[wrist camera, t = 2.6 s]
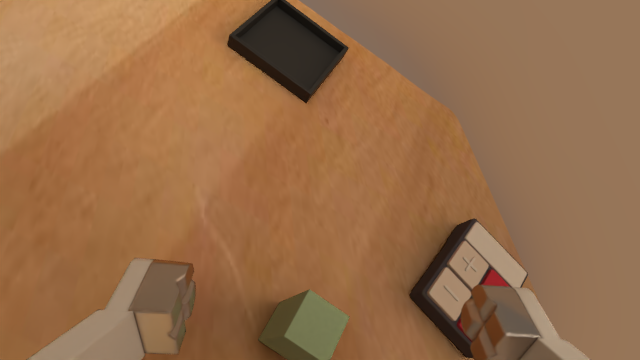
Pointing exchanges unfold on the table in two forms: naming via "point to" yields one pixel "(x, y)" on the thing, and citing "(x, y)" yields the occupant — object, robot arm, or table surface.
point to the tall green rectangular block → (304, 328)
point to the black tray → (288, 47)
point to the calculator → (464, 278)
